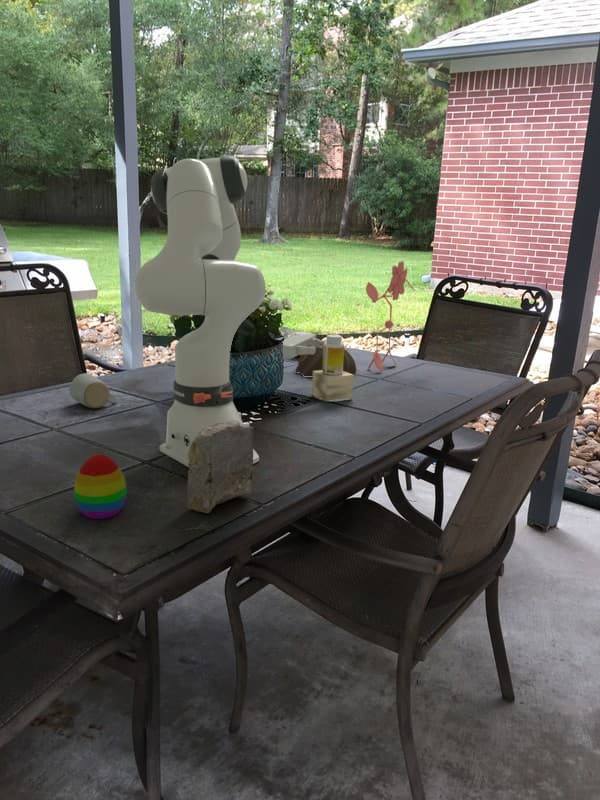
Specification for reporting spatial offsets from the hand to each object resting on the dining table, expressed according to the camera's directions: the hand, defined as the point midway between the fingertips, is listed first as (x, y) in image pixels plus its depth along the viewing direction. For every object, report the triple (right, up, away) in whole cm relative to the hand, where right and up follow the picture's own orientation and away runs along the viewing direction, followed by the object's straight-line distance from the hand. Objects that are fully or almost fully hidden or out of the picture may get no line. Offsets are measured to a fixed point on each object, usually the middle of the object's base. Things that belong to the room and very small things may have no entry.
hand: (320, 347), depth 179 cm
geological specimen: (-19, -32, -65) cm, 75 cm away
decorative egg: (-38, -33, -69) cm, 86 cm away
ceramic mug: (-57, -15, -11) cm, 60 cm away
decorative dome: (+3, -6, +31) cm, 32 cm away
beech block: (+3, -13, +2) cm, 14 cm away
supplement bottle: (+3, -7, 0) cm, 8 cm away
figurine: (+25, -5, +37) cm, 45 cm away
